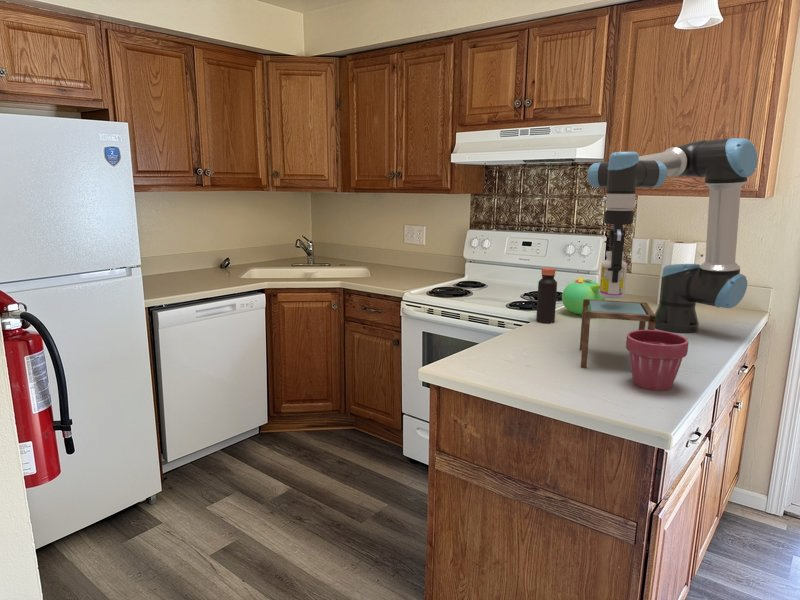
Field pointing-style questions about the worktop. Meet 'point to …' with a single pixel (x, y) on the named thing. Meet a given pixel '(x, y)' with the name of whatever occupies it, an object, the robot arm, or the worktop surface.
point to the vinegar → (546, 296)
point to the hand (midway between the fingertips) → (612, 291)
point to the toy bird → (580, 294)
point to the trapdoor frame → (609, 315)
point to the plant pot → (655, 357)
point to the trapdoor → (617, 307)
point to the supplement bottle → (605, 275)
